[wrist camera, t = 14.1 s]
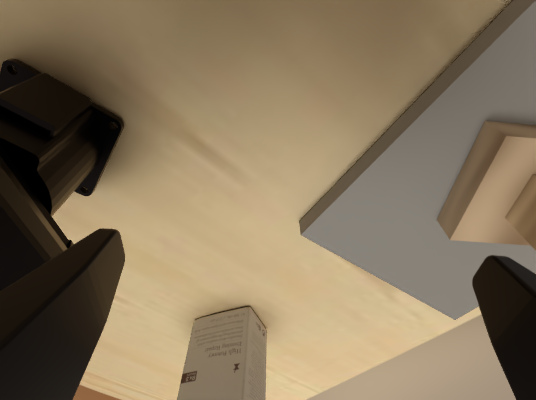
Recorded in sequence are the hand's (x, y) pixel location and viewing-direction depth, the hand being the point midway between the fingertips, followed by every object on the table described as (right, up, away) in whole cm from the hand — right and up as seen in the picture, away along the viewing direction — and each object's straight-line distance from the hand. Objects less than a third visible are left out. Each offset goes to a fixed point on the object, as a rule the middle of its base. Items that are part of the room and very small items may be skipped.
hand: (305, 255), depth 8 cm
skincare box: (-5, -11, +24) cm, 26 cm away
